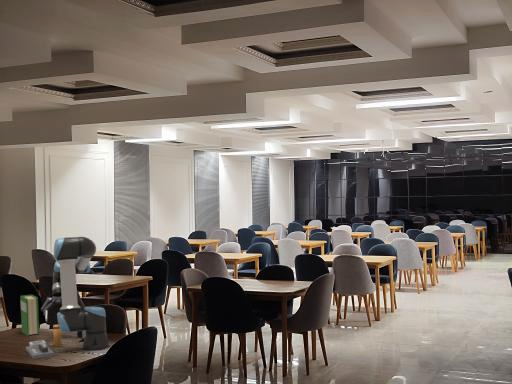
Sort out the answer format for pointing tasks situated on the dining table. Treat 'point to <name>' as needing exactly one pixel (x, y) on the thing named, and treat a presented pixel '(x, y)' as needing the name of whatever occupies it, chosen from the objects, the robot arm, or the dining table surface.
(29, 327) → the hardback book
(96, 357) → the dining table surface
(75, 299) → the robot arm
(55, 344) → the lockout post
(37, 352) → the breaker board
